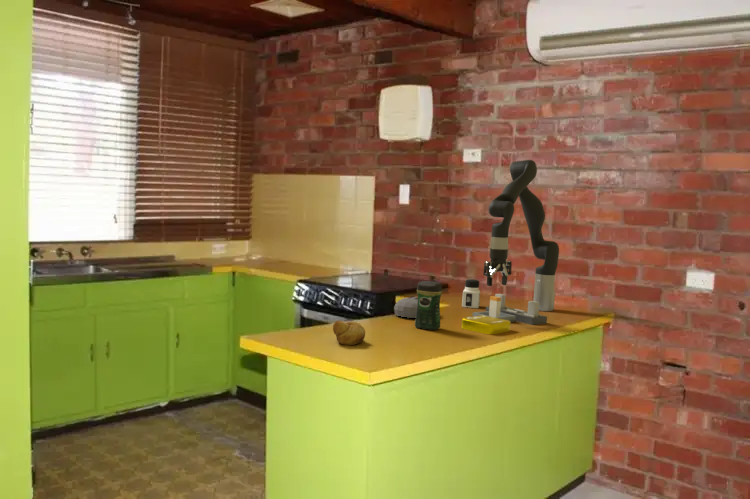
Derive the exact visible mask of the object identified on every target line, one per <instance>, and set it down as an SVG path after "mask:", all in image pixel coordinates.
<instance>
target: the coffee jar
mask: <svg viewBox="0 0 750 499" xmlns="http://www.w3.org/2000/svg"><path fill="white" fill-rule="evenodd" d="M416 287H417V288H416V294H417V297H418V305H417V313H416V319H414V326H415V328H417V329H420V328H422V329H421V330H426V329H428V331H431V330H432V331H433V330H434V331H436V330H439V329H440V328H441V310H440V309H441V306H440V305H441V302H440V301H441V296H442V294H443V285H442V283H441V282H437V281H432V280H431V281H430V280H422V281H421V280H420V281H418V283H417V286H416Z"/></svg>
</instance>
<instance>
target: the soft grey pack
mask: <svg viewBox="0 0 750 499" xmlns="http://www.w3.org/2000/svg"><path fill="white" fill-rule="evenodd" d="M417 305H418V296H416V295H413V296H409V297H403V298H401V299H399V300H398V301H397V302H396V303H395V305H394V306H393V311H394V315H395V316H396V315H397V316H396V317H398V316H401V317H400V318H402V317H407V318H406V319H409V318H416V313H417Z"/></svg>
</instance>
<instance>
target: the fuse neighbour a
mask: <svg viewBox="0 0 750 499" xmlns="http://www.w3.org/2000/svg"><path fill="white" fill-rule="evenodd" d="M494 296H496V297H501V309H505V306H506V297H507V295H506V294H503V293H495V295H494Z"/></svg>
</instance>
